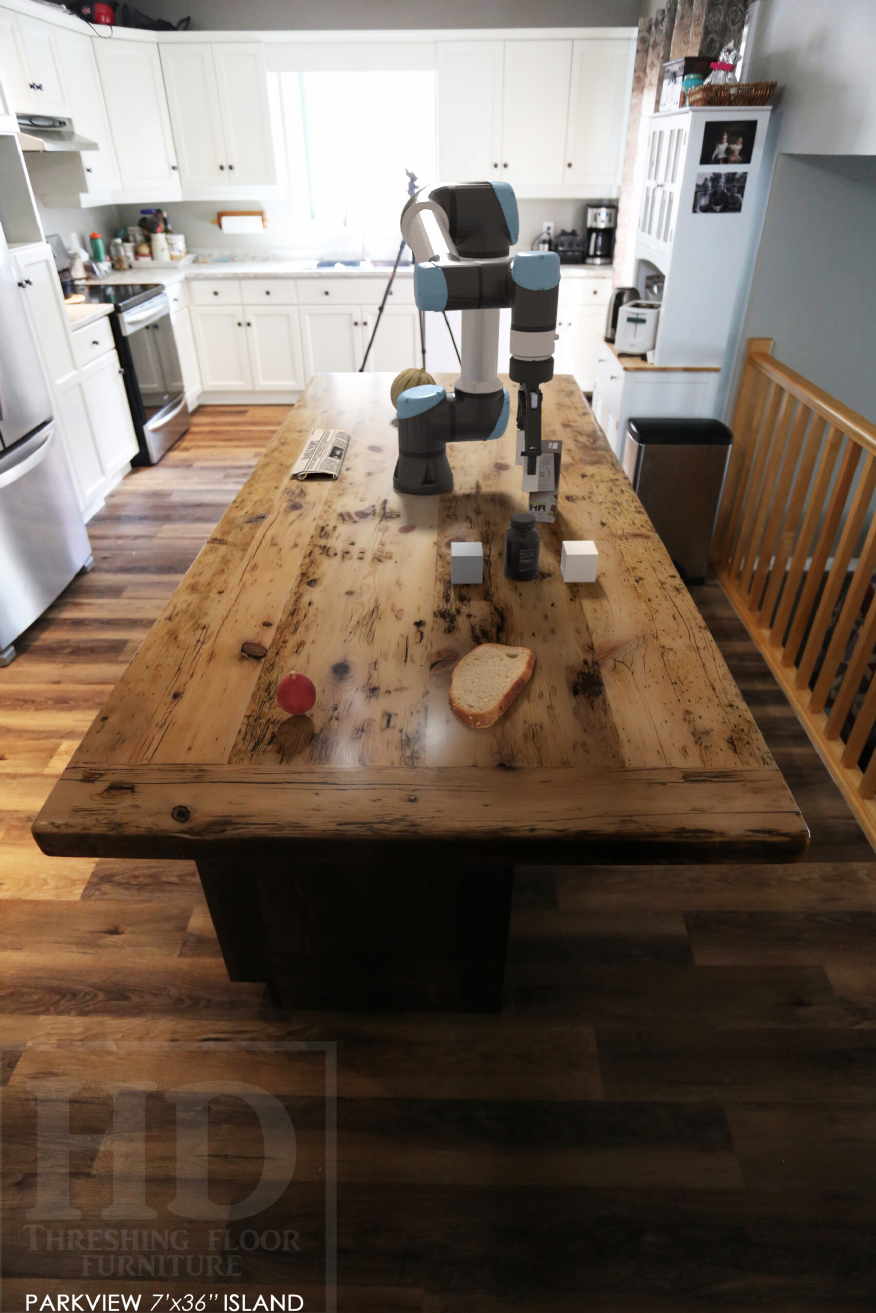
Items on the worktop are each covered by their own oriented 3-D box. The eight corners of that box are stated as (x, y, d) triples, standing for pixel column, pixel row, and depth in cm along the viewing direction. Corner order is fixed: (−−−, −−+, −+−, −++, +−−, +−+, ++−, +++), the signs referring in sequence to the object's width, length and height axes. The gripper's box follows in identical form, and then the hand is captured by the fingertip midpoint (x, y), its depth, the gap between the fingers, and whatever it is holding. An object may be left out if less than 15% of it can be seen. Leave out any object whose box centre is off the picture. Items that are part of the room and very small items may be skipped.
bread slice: (468, 735, 110) (468, 715, 108) (420, 671, 124) (419, 652, 122) (573, 703, 116) (575, 683, 114) (516, 645, 130) (517, 627, 128)
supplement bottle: (541, 568, 152) (545, 512, 146) (533, 584, 147) (537, 526, 140) (508, 564, 154) (510, 508, 148) (499, 579, 149) (501, 522, 142)
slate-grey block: (451, 583, 148) (451, 556, 145) (451, 569, 153) (451, 542, 150) (482, 583, 148) (483, 555, 144) (481, 569, 153) (481, 542, 149)
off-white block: (564, 582, 148) (566, 554, 144) (560, 568, 153) (562, 541, 149) (595, 582, 148) (598, 554, 144) (590, 568, 153) (593, 540, 149)
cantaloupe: (384, 414, 242) (382, 365, 234) (426, 408, 247) (425, 359, 239) (402, 426, 231) (400, 375, 223) (446, 420, 236) (445, 369, 228)
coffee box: (555, 523, 171) (560, 453, 162) (526, 521, 172) (530, 451, 163) (558, 507, 178) (563, 439, 169) (530, 505, 179) (534, 438, 170)
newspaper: (337, 481, 196) (336, 468, 194) (289, 482, 196) (288, 468, 194) (350, 437, 225) (350, 425, 223) (308, 438, 225) (307, 426, 223)
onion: (281, 703, 117) (274, 660, 112) (319, 701, 117) (313, 658, 112) (278, 727, 112) (270, 683, 107) (317, 725, 112) (311, 681, 108)
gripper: (564, 373, 117) (555, 502, 129) (545, 340, 138) (539, 454, 150) (515, 373, 117) (510, 503, 129) (504, 340, 138) (501, 455, 150)
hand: (526, 477), depth 139 cm, fingers open, 13 cm apart
